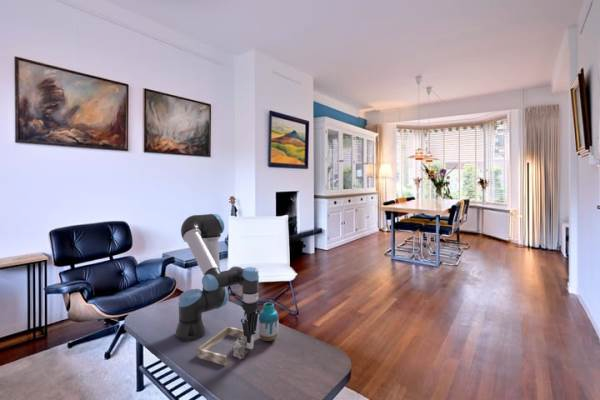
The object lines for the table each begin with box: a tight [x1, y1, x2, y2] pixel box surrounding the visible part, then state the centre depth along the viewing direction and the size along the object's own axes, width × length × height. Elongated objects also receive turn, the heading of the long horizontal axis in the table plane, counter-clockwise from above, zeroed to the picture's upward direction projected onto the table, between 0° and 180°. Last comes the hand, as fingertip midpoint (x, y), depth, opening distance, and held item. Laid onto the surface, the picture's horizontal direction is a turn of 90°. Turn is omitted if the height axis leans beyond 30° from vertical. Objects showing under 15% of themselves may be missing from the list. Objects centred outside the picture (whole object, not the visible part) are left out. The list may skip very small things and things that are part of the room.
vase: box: [257, 301, 279, 342], centre depth 159 cm, size 11×11×19 cm
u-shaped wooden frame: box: [196, 325, 247, 367], centre depth 150 cm, size 16×24×4 cm
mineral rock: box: [232, 337, 250, 360], centre depth 147 cm, size 15×8×4 cm, turn 174°
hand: (250, 347), depth 145 cm, fingers closed
